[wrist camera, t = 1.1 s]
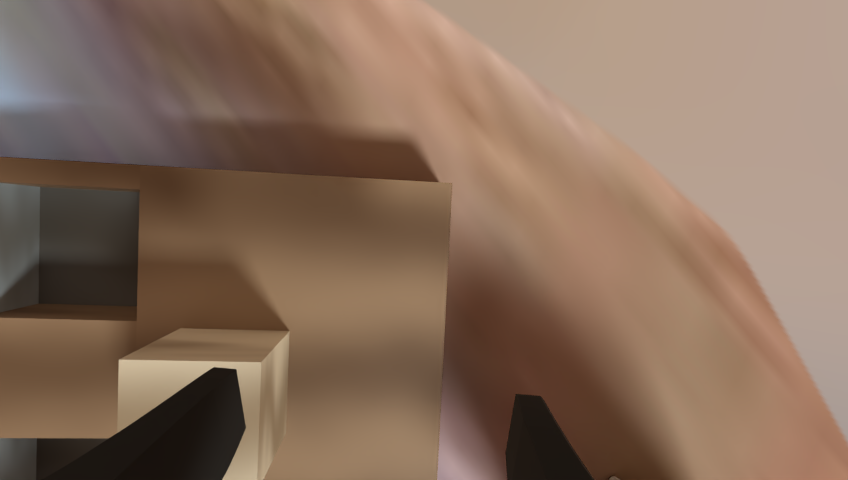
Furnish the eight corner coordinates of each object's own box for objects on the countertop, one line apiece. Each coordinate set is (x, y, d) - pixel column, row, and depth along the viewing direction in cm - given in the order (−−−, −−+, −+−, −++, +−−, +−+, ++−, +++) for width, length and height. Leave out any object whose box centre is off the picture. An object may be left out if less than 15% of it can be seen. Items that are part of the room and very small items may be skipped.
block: (285, 433, 18) (256, 493, 14) (177, 432, 18) (115, 494, 14) (289, 331, 18) (261, 362, 14) (180, 328, 17) (118, 359, 13)
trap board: (425, 529, 22) (432, 578, 19) (-217, 541, 19) (-329, 599, 16) (443, 188, 21) (452, 183, 18) (-221, 150, 18) (-338, 137, 15)
